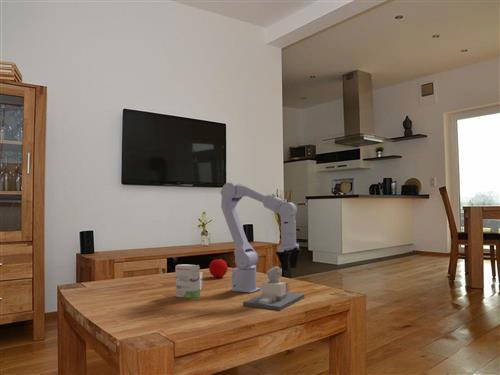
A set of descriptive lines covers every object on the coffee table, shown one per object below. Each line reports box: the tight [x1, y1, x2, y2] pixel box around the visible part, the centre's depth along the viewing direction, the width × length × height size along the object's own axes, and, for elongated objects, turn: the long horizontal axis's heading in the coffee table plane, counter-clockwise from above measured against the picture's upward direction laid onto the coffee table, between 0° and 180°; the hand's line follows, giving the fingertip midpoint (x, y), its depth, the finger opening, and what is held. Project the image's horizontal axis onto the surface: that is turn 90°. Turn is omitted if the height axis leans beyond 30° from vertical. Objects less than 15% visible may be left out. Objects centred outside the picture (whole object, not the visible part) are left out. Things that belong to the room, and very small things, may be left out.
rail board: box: [242, 290, 305, 311], centre depth 130 cm, size 14×20×3 cm
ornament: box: [208, 256, 229, 278], centre depth 179 cm, size 9×9×10 cm
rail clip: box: [286, 282, 290, 292], centre depth 136 cm, size 4×2×3 cm, turn 59°
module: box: [260, 280, 287, 301], centre depth 129 cm, size 8×4×6 cm, turn 59°
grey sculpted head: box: [266, 265, 283, 281], centre depth 165 cm, size 6×7×7 cm
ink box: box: [174, 263, 201, 299], centre depth 140 cm, size 9×5×12 cm, turn 59°
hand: (289, 269), depth 141 cm, fingers open, 7 cm apart
